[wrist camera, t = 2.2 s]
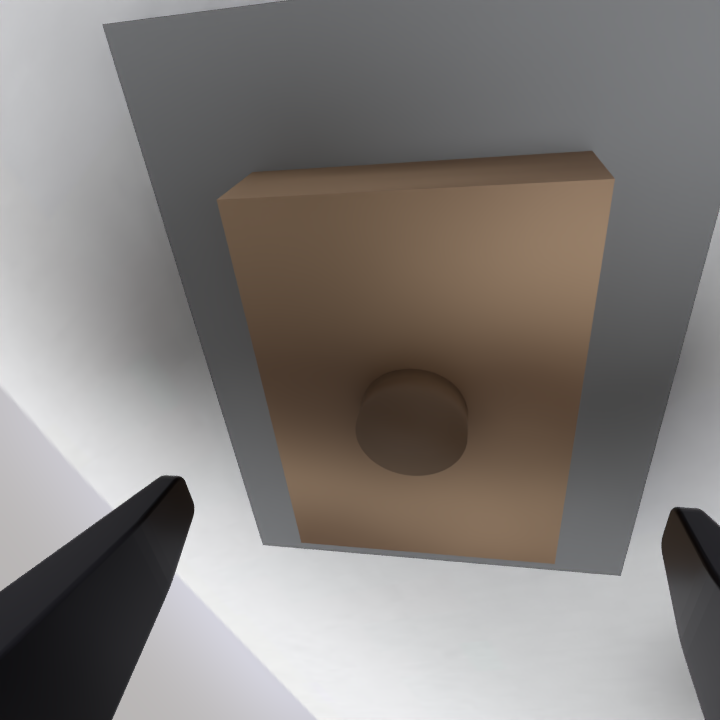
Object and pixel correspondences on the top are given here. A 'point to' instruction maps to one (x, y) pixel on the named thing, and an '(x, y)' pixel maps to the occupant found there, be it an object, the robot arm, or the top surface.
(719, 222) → the top surface
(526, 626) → the top surface
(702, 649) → the robot arm
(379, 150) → the mat
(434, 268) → the lid
